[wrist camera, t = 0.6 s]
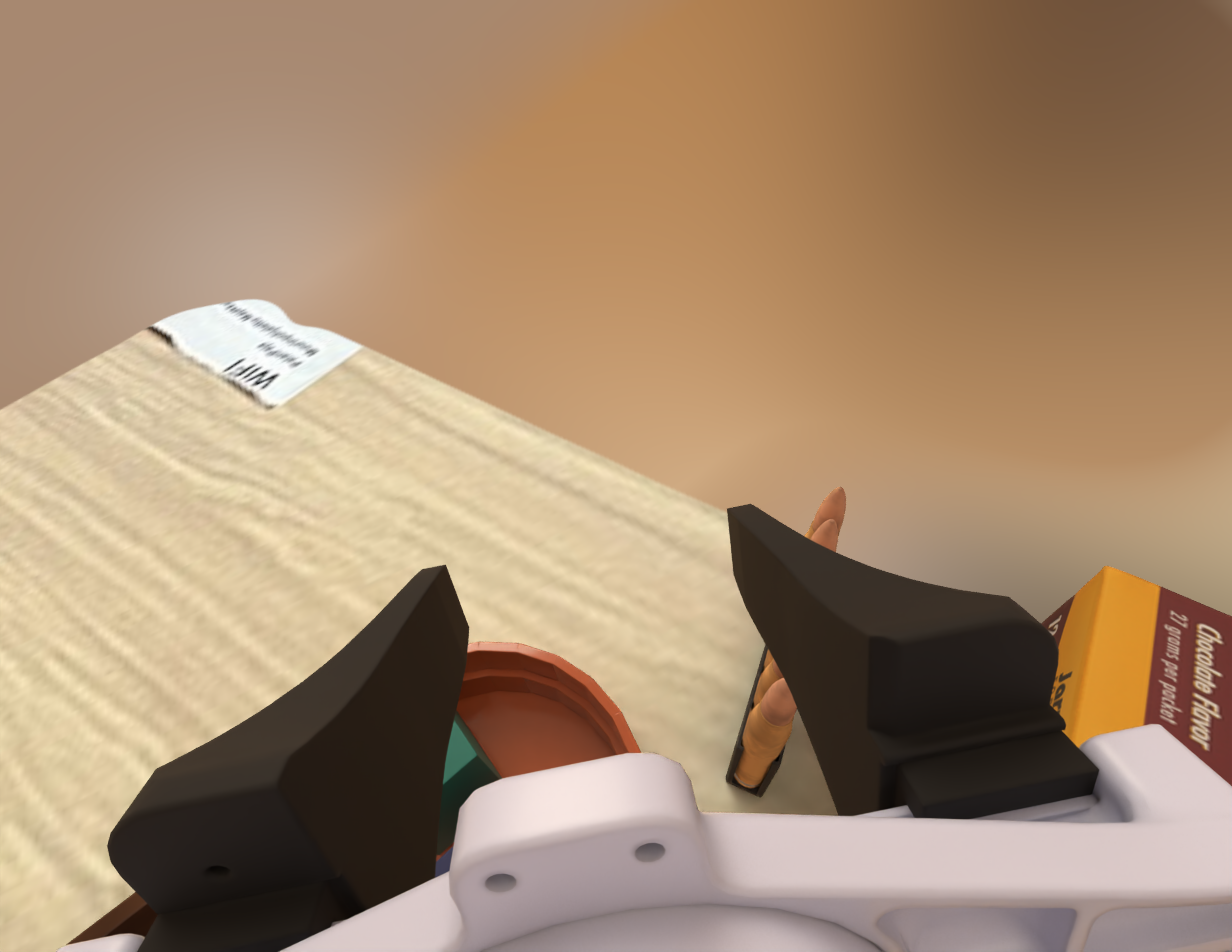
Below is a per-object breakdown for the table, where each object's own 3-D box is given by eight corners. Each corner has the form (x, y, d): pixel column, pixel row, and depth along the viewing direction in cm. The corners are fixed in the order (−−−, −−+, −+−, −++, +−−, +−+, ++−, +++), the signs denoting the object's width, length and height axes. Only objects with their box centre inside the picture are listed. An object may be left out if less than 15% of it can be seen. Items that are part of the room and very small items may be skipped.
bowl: (724, 859, 26) (735, 843, 22) (424, 1212, 20) (367, 1274, 16) (528, 625, 34) (510, 583, 30) (271, 827, 28) (208, 807, 24)
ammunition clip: (762, 798, 27) (812, 720, 18) (724, 781, 28) (754, 696, 19) (810, 609, 33) (867, 478, 24) (779, 598, 34) (822, 466, 25)
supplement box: (921, 719, 29) (1103, 555, 17) (1320, 943, 23) (2048, 931, 11) (846, 933, 24) (1032, 912, 12) (1336, 1299, 18) (2769, 2032, 6)
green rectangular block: (439, 855, 26) (386, 833, 21) (389, 767, 29) (332, 728, 24) (510, 790, 28) (477, 755, 23) (457, 711, 30) (417, 664, 25)
